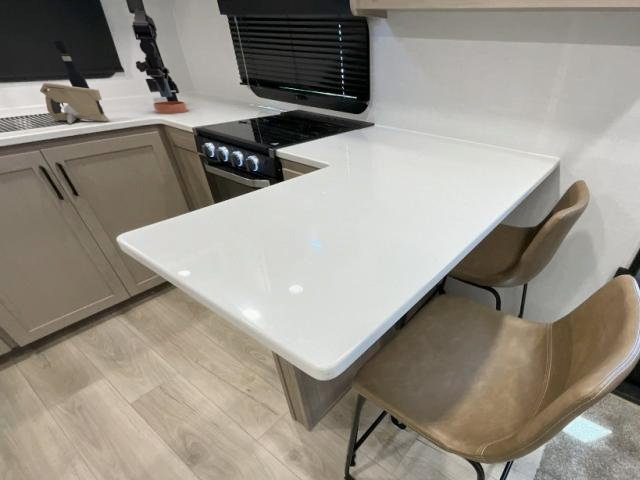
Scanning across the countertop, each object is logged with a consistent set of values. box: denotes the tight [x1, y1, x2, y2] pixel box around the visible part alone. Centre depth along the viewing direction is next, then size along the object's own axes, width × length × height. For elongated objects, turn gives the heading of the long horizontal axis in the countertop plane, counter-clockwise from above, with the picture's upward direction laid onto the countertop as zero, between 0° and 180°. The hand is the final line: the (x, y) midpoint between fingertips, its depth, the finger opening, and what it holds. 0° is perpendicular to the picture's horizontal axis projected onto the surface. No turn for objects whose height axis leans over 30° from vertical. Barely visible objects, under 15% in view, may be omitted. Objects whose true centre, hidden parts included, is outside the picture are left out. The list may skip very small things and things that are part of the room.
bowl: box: [152, 100, 188, 115], centre depth 179 cm, size 15×15×4 cm
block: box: [154, 78, 172, 98], centre depth 174 cm, size 4×4×8 cm
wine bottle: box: [52, 40, 91, 89], centre depth 163 cm, size 6×6×30 cm
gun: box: [39, 82, 110, 123], centre depth 151 cm, size 24×3×15 cm, turn 92°
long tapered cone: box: [63, 104, 79, 125], centre depth 155 cm, size 6×6×19 cm
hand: (165, 91), depth 175 cm, fingers closed on block, 4 cm apart
